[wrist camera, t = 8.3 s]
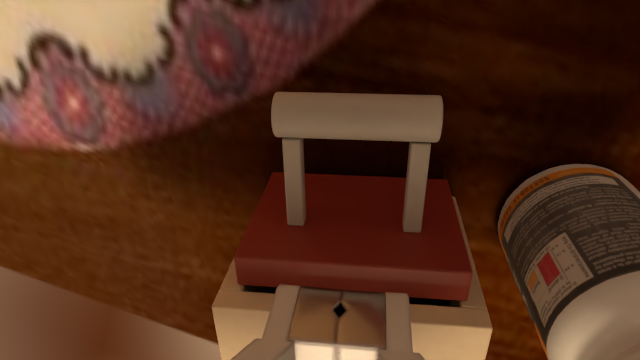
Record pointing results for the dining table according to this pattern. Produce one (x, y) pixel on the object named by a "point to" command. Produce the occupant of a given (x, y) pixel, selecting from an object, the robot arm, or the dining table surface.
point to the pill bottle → (577, 260)
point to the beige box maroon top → (426, 320)
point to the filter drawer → (357, 206)
